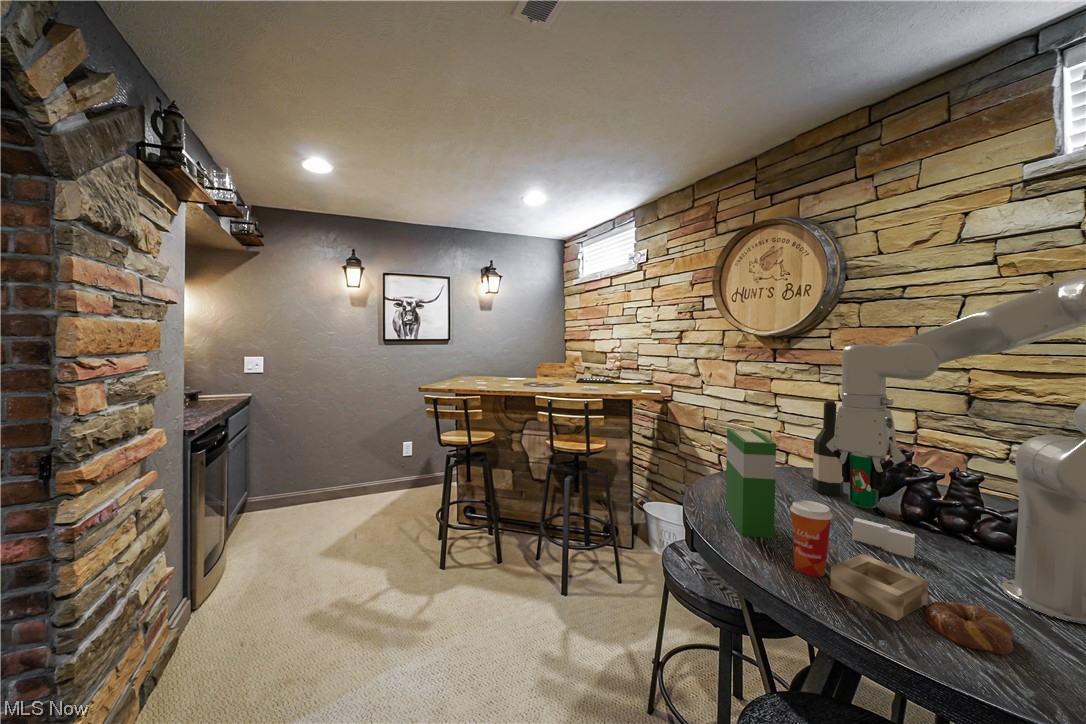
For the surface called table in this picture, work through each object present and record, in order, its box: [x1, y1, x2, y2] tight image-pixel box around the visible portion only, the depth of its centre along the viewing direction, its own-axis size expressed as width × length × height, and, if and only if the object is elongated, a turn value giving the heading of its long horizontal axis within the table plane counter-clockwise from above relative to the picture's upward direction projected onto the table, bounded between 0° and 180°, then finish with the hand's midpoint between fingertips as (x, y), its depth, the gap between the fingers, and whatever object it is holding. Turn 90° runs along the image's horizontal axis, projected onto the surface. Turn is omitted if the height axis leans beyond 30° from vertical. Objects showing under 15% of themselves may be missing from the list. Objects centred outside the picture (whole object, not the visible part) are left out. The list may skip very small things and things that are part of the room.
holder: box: [829, 553, 929, 622], centre depth 81 cm, size 11×11×4 cm
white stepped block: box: [852, 517, 916, 559], centre depth 99 cm, size 15×11×6 cm
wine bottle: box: [812, 399, 844, 497], centre depth 137 cm, size 8×8×30 cm
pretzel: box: [925, 601, 1015, 656], centre depth 71 cm, size 12×11×4 cm
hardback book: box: [725, 427, 777, 539], centre depth 113 cm, size 18×7×24 cm, turn 169°
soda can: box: [848, 451, 879, 509], centre depth 91 cm, size 5×5×12 cm
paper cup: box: [789, 499, 834, 578], centre depth 90 cm, size 8×8×14 cm
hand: (863, 484), depth 91 cm, fingers closed on soda can, 5 cm apart
